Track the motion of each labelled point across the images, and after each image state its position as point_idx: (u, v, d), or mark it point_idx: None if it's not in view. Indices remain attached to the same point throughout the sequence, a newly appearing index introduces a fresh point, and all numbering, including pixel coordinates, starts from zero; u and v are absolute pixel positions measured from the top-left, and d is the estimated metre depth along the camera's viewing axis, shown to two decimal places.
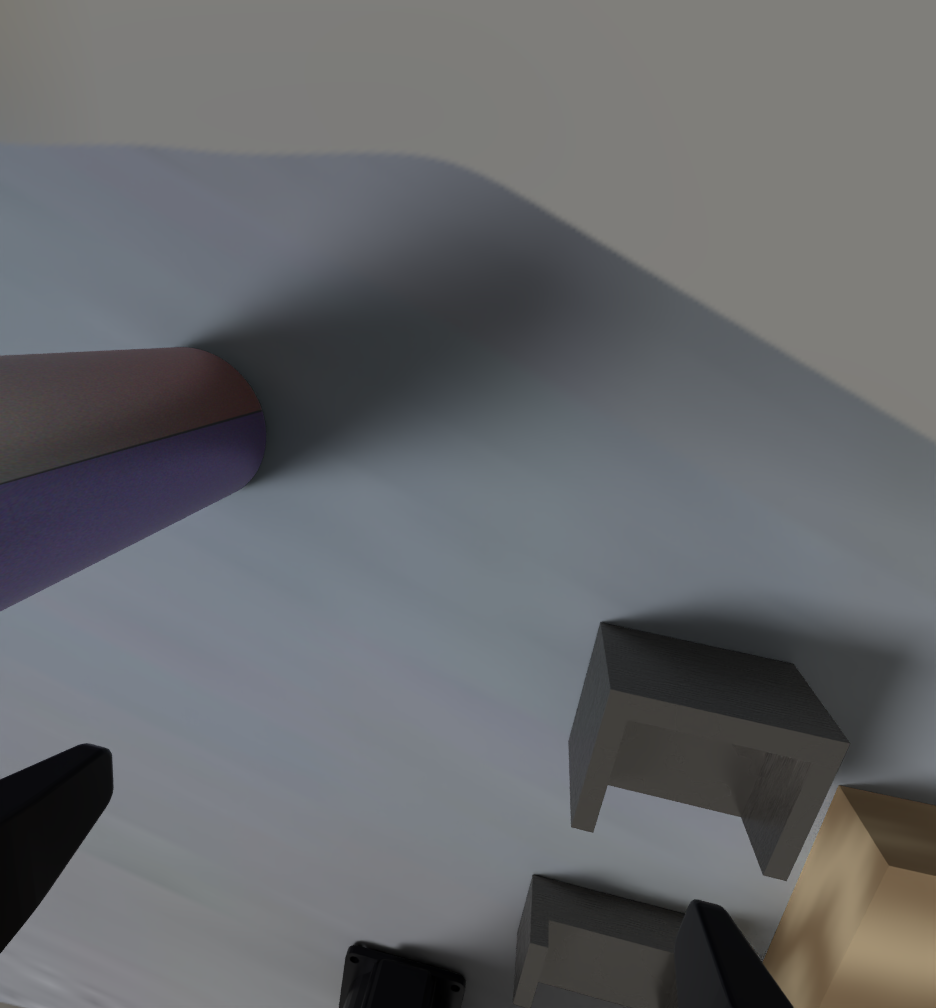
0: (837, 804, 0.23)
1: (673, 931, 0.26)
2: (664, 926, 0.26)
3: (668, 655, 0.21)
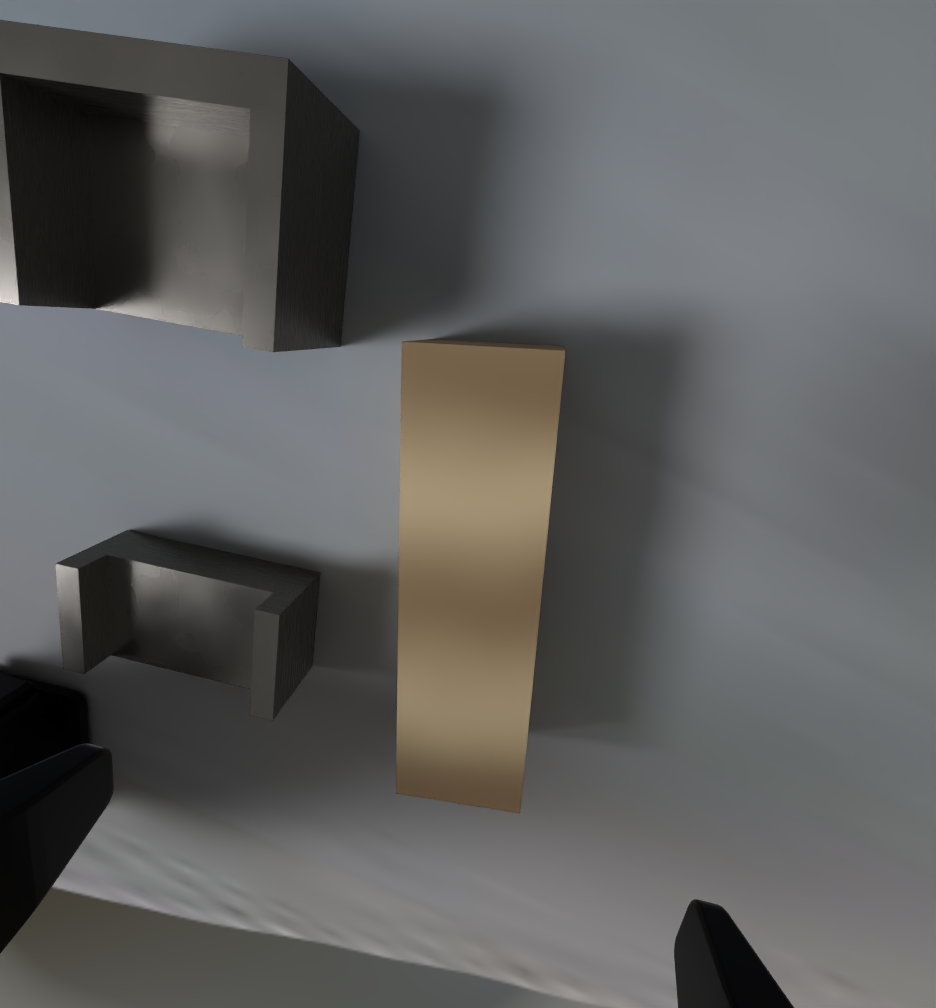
0: None
1: (279, 578, 0.20)
2: (270, 574, 0.20)
3: None
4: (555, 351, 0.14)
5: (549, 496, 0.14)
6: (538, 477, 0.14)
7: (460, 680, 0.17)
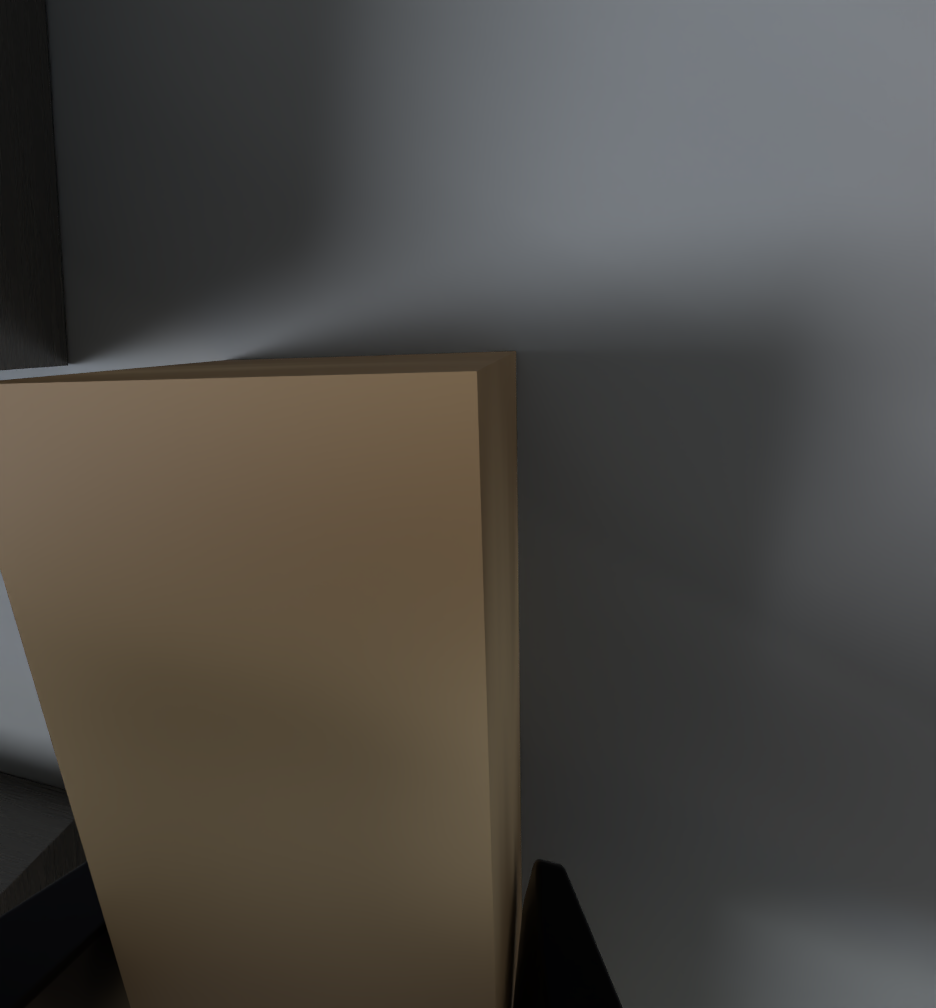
0: None
1: None
2: None
3: None
4: (442, 376, 0.04)
5: (484, 823, 0.05)
6: (443, 769, 0.05)
7: None
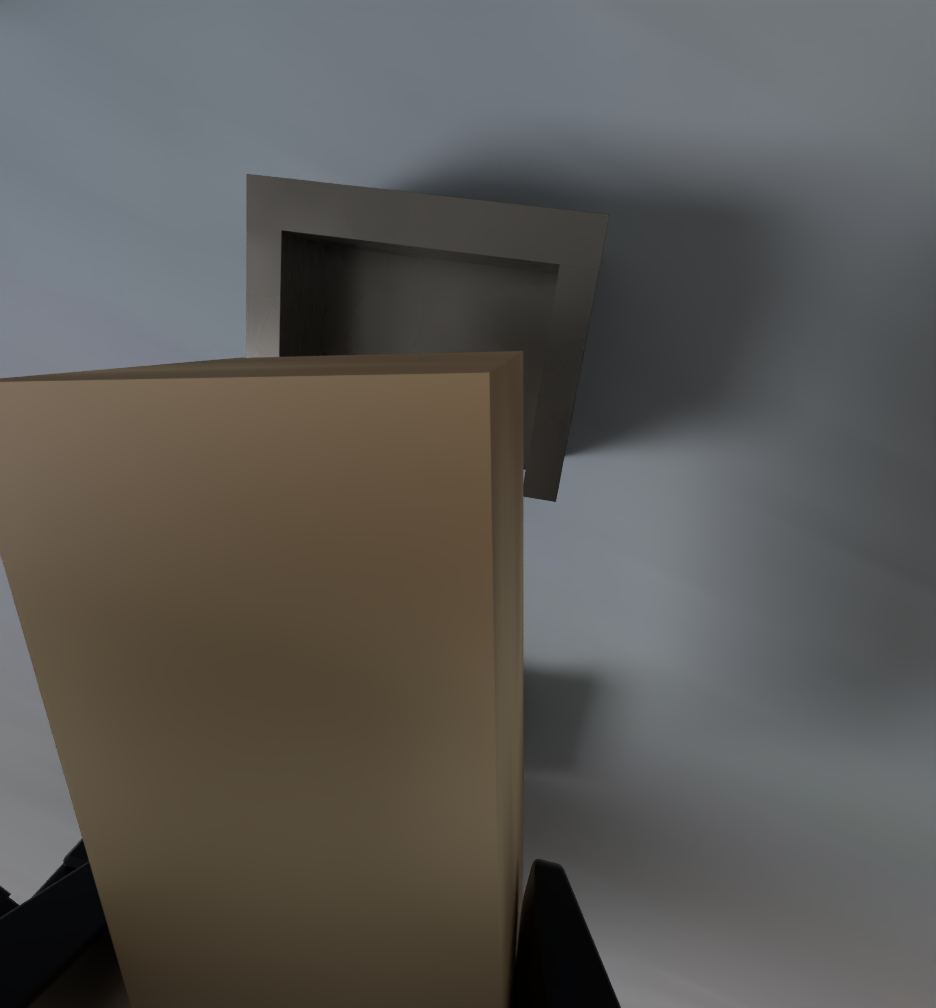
0: None
1: None
2: None
3: None
4: (454, 377, 0.04)
5: (491, 827, 0.05)
6: (450, 773, 0.05)
7: None
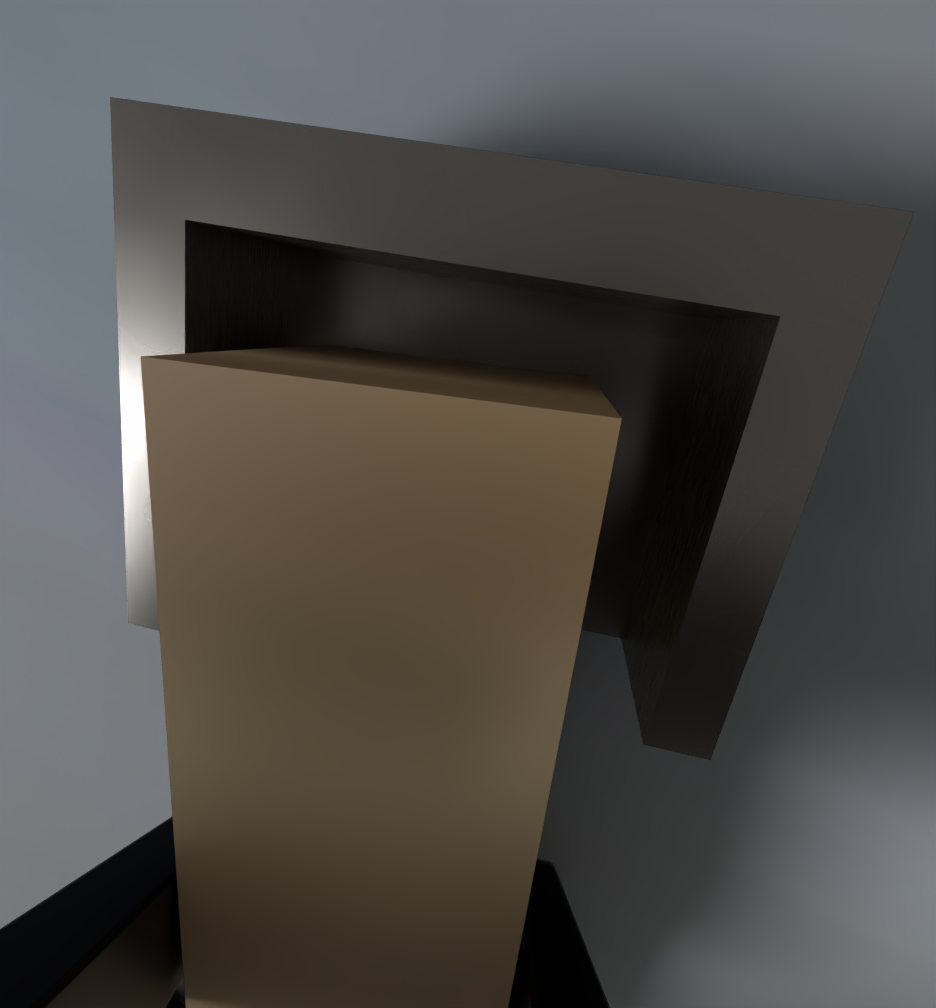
0: None
1: None
2: None
3: None
4: (590, 417, 0.04)
5: (545, 793, 0.05)
6: (517, 744, 0.05)
7: None
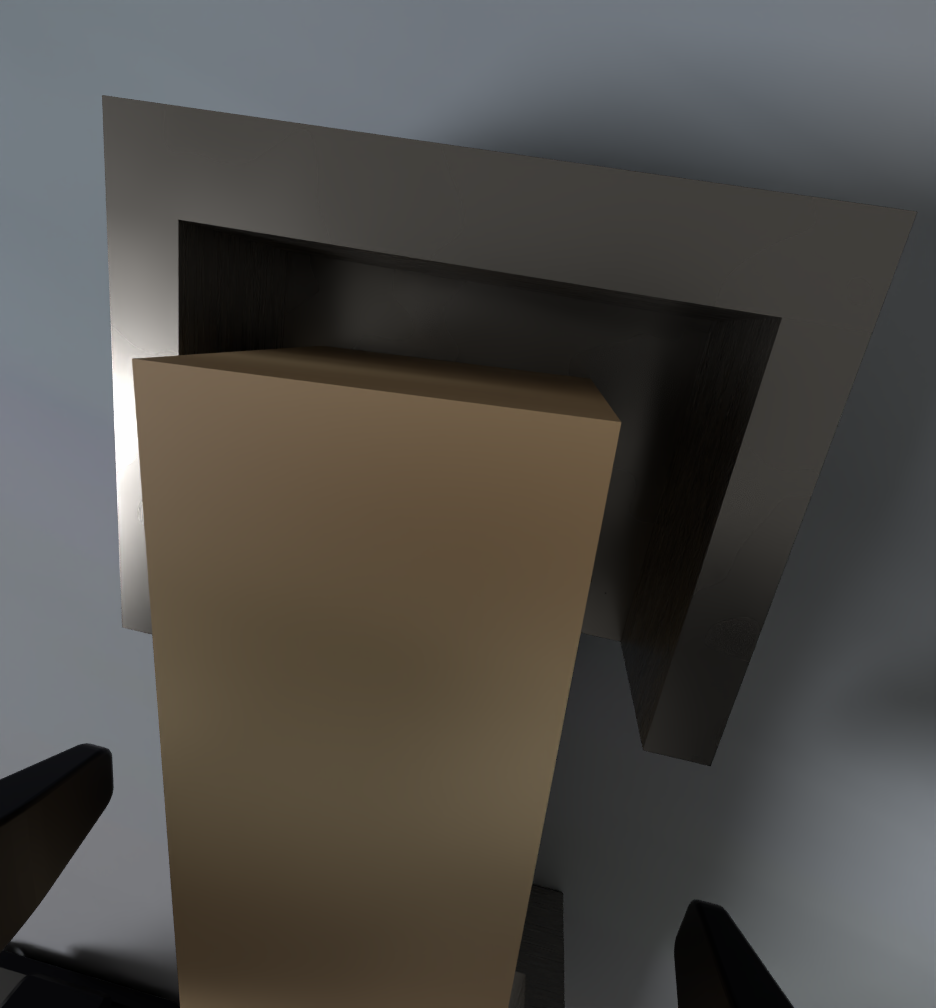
0: None
1: None
2: None
3: None
4: (589, 421, 0.04)
5: (543, 801, 0.05)
6: (516, 751, 0.05)
7: None
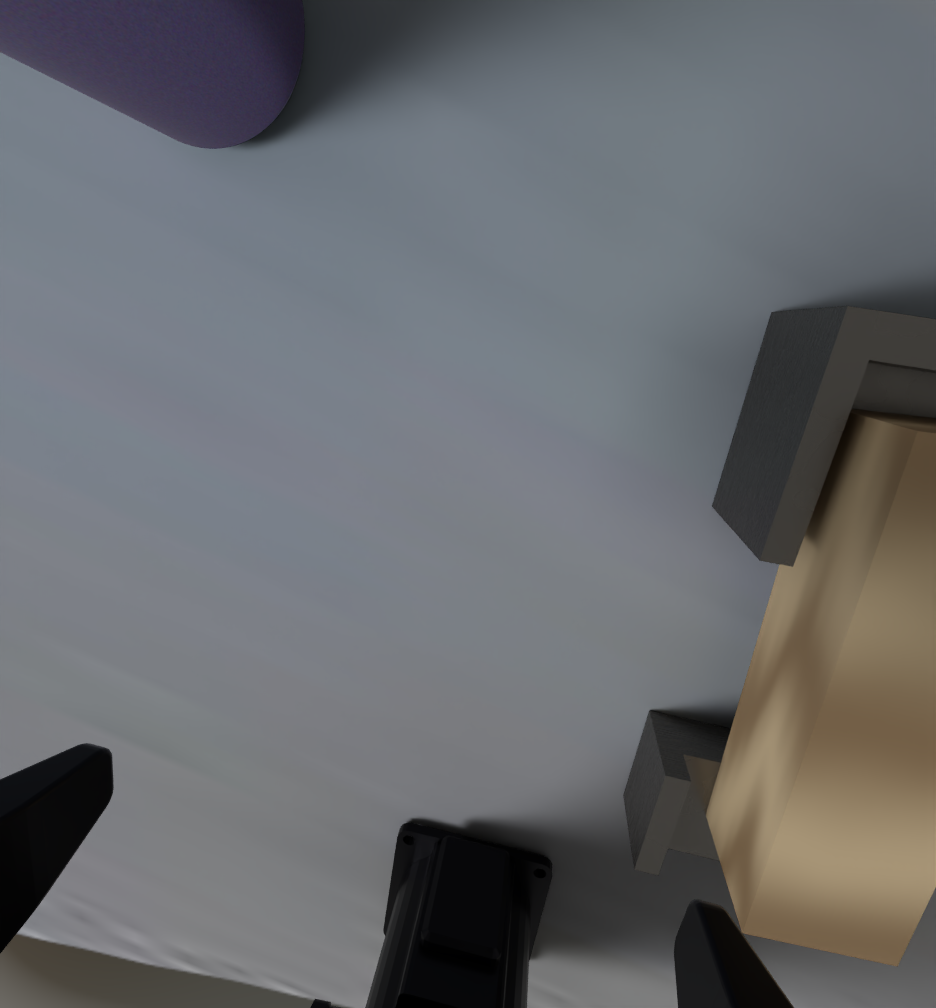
0: None
1: None
2: None
3: None
4: None
5: None
6: None
7: (868, 819, 0.14)
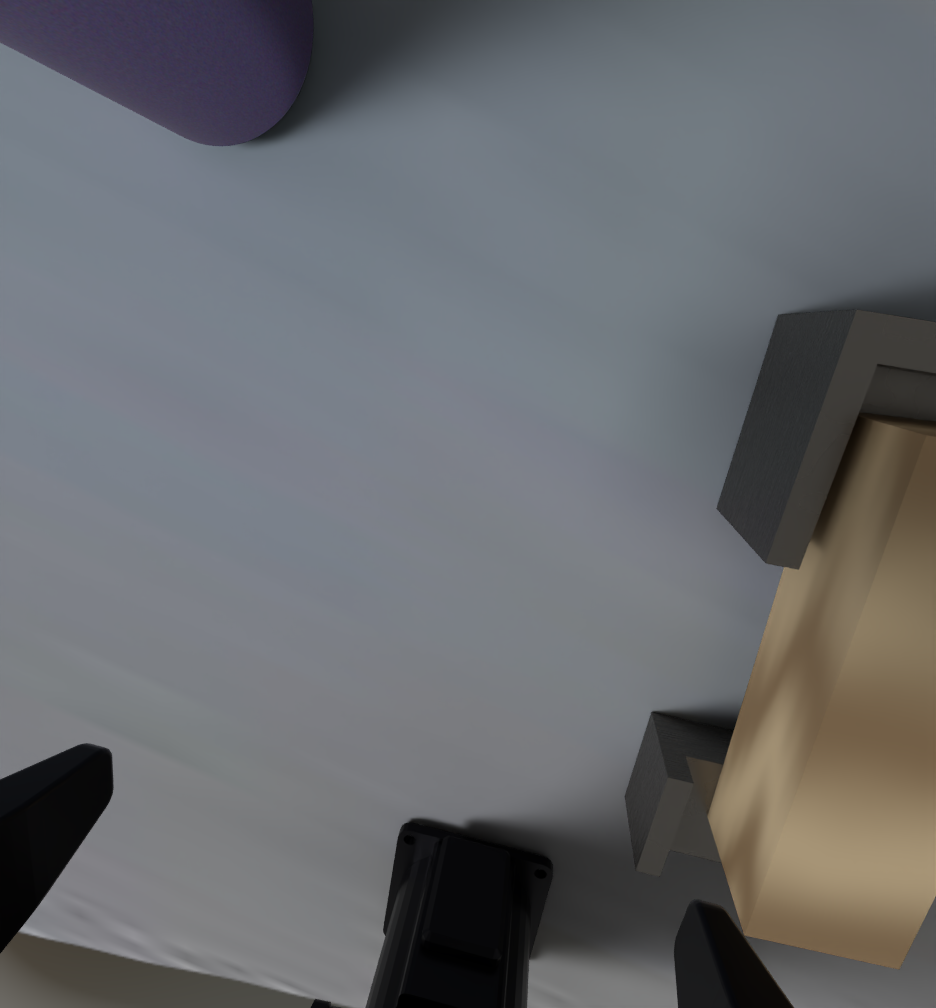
0: None
1: None
2: None
3: None
4: None
5: None
6: None
7: (872, 822, 0.14)
